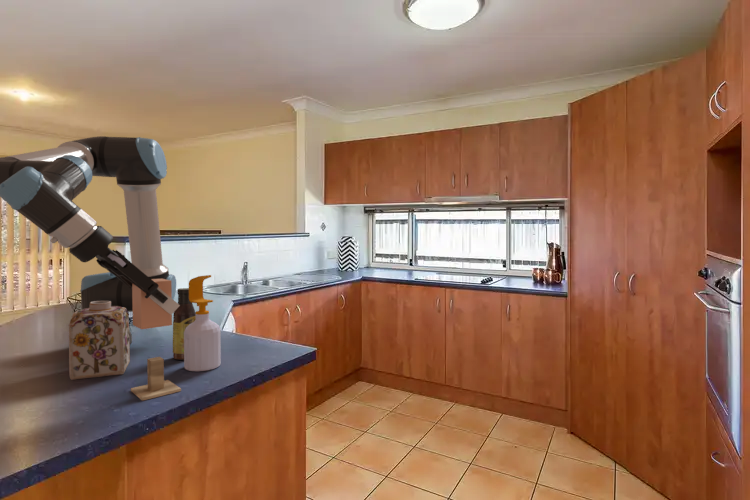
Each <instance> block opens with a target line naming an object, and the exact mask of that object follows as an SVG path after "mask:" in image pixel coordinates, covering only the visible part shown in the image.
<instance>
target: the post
mask: <svg viewBox="0 0 750 500" xmlns="http://www.w3.org/2000/svg"><path fill="white" fill-rule="evenodd" d="M164 362H165V360H164V357H161V356H154V357H151V358H147V367H146V368H147V374H146V375H147V384H143V385H139V386H134V387H130V392H131V393H133V394H134V395H135V396H136V397H137V398H139V400H140V401H147V400H151V399H156V398H159V397H163V396H166V395H170V394H175V393H178V392H182V388H181V387H179V386H178V385H177V384H176V383H174V382H172V381H171V380H169V379H166V380H165V371H164V370H165V368H164V365H165V363H164Z"/></svg>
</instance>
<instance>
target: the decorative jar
mask: <svg viewBox="0 0 750 500" xmlns="http://www.w3.org/2000/svg"><path fill="white" fill-rule="evenodd" d="M129 315H130V314H129V312H128V311H127V309H126V308H125V307H120V306H111V301H93V302H90V306H89V308H85V309H78V310H76V311H74V312H73V313H72V316H71V319H70V321H69V324H68V368H69V369H68V370H69V371H68V372H69V373H68V374H69V378H70V380H72V381H75V380H83V379H89V378H90V379H91V378H101V377H102V378H103V377H109V376H118V375H119V376H120V375H124V374H125V372H126V370H127V368H128V366H129V364H130V362H131V359H130V358H131V355H130V353H131V352H130V351H131V350H130V349H131V348H130V346H131V344H130V341H129V340H130V339H129V330H130V321H129V320H130V319H129Z"/></svg>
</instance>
